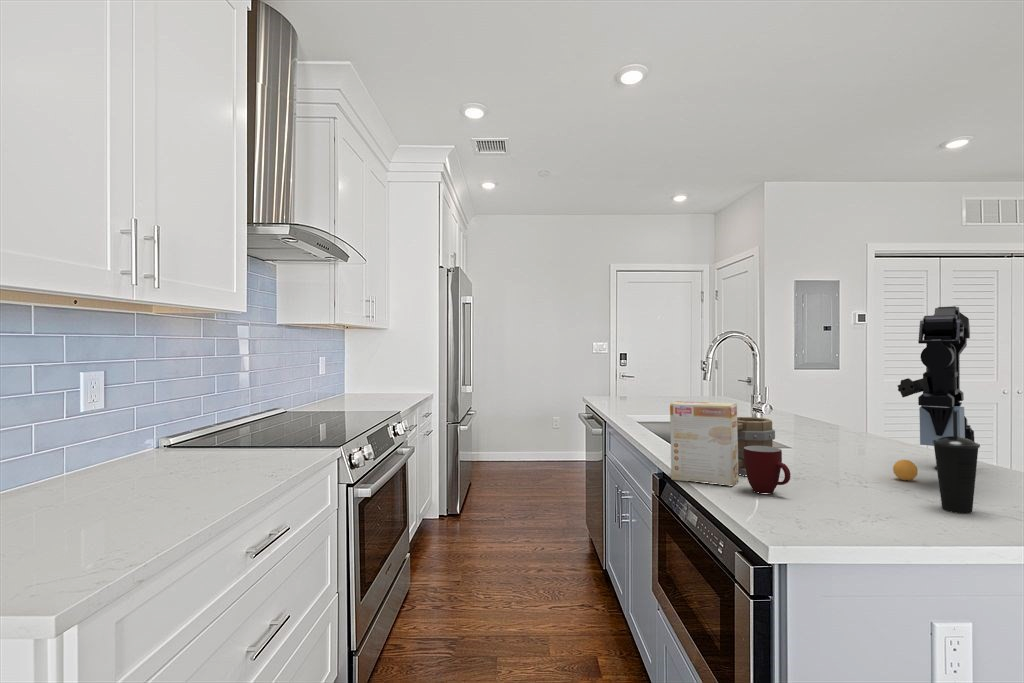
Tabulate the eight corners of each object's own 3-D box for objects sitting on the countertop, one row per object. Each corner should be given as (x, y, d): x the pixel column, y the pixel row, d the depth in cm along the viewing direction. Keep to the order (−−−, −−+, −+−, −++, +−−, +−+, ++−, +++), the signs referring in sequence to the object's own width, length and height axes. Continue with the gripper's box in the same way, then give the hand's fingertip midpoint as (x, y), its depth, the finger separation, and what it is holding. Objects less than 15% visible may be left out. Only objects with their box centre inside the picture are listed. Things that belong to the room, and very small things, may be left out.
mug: (800, 494, 127) (799, 450, 127) (783, 501, 122) (782, 455, 122) (755, 486, 135) (754, 444, 135) (737, 491, 130) (736, 448, 130)
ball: (895, 476, 143) (894, 457, 143) (919, 479, 139) (919, 459, 139) (891, 480, 139) (891, 460, 139) (916, 483, 136) (915, 462, 136)
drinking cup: (963, 505, 118) (962, 409, 118) (991, 516, 110) (989, 413, 110) (924, 504, 118) (923, 409, 118) (949, 515, 111) (947, 413, 111)
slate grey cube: (926, 440, 139) (925, 404, 139) (964, 443, 134) (964, 406, 134) (920, 444, 134) (919, 407, 134) (960, 448, 128) (959, 409, 128)
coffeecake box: (739, 481, 140) (737, 402, 140) (732, 487, 134) (731, 405, 134) (679, 474, 148) (677, 400, 148) (670, 480, 142) (669, 403, 142)
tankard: (743, 464, 159) (743, 411, 159) (786, 472, 149) (785, 415, 149) (697, 473, 148) (697, 416, 148) (740, 483, 138) (739, 421, 138)
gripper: (908, 365, 146) (909, 425, 146) (891, 368, 133) (892, 435, 133) (963, 366, 138) (964, 430, 138) (951, 369, 125) (952, 440, 125)
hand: (942, 433), depth 134 cm, fingers closed on slate grey cube, 7 cm apart
